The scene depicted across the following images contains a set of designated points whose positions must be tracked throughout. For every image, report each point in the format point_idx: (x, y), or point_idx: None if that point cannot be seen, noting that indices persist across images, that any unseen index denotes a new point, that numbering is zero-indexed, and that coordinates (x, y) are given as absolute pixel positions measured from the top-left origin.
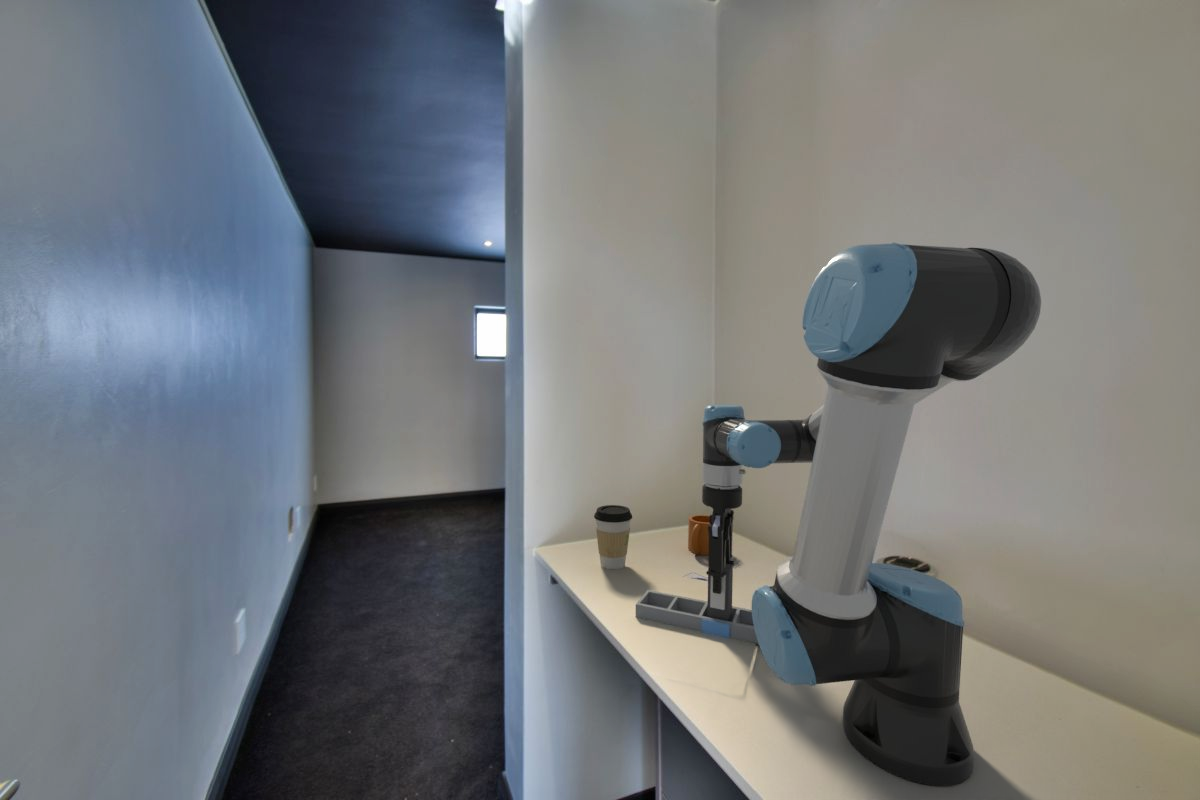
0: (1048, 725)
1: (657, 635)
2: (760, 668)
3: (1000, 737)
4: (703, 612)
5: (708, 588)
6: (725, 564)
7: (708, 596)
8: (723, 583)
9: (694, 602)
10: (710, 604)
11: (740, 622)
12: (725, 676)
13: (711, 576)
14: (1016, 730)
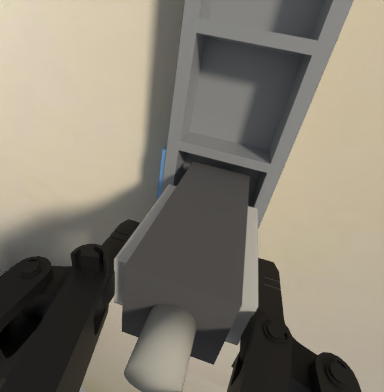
0: (122, 387)
1: (137, 4)
2: (103, 227)
3: (92, 360)
4: (200, 155)
5: (163, 208)
6: (211, 343)
7: (174, 193)
8: None
9: (284, 126)
10: (165, 189)
11: None
12: (57, 174)
13: (120, 254)
14: (106, 371)
